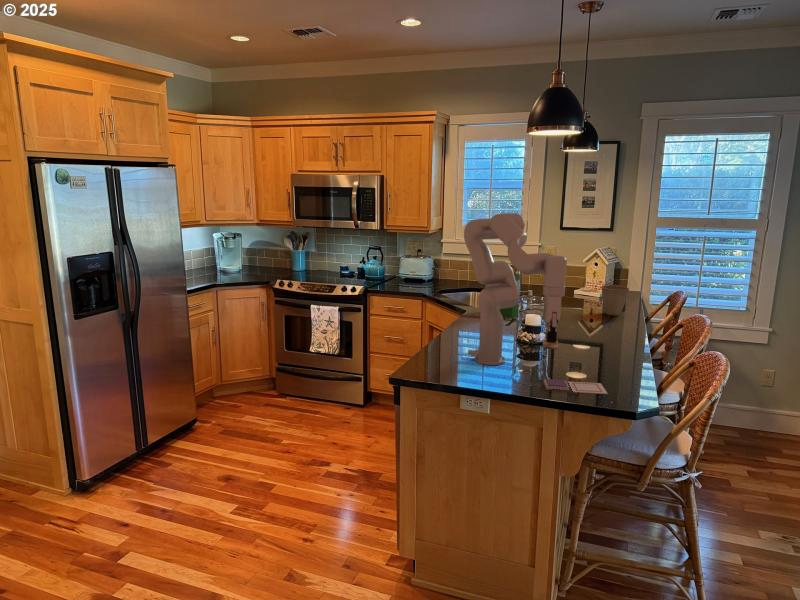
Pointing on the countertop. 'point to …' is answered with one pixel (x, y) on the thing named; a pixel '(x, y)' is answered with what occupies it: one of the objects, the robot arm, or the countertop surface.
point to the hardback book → (511, 311)
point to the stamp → (549, 344)
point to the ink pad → (556, 384)
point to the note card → (587, 387)
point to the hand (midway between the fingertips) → (550, 340)
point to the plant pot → (614, 298)
